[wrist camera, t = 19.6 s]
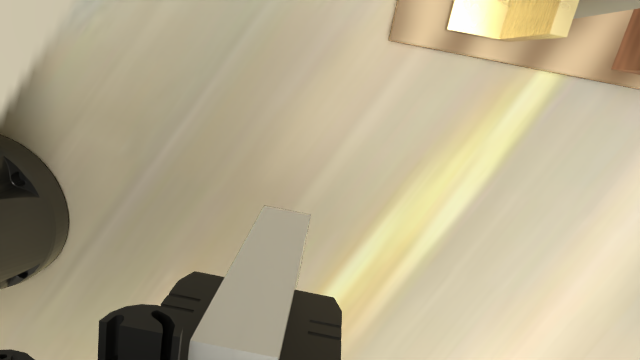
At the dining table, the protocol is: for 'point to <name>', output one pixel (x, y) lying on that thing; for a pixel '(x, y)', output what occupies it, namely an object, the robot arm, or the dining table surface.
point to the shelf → (534, 43)
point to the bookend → (512, 18)
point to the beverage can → (604, 7)
